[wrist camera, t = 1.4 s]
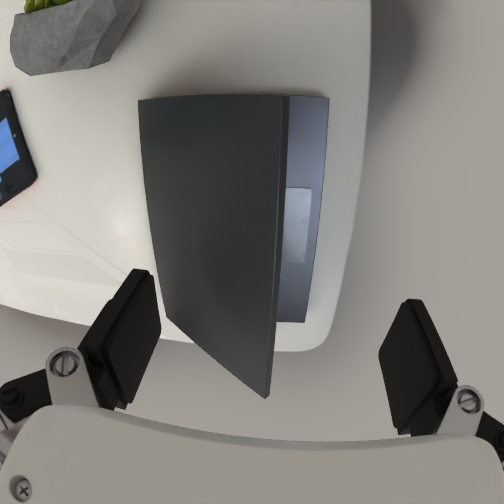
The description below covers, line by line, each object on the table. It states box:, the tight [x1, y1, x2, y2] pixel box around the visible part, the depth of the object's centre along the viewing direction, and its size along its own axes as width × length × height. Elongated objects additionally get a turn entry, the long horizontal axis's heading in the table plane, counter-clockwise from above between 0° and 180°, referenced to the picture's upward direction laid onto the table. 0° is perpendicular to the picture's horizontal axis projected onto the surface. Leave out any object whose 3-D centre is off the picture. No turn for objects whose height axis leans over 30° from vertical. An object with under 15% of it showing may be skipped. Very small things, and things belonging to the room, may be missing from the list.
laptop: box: [153, 93, 329, 323], centre depth 31 cm, size 17×26×2 cm, turn 179°
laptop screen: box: [138, 94, 290, 399], centre depth 26 cm, size 17×26×1 cm
